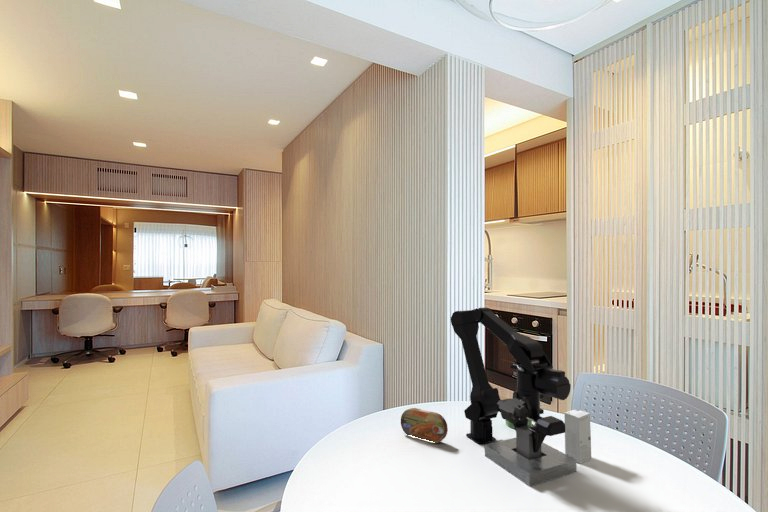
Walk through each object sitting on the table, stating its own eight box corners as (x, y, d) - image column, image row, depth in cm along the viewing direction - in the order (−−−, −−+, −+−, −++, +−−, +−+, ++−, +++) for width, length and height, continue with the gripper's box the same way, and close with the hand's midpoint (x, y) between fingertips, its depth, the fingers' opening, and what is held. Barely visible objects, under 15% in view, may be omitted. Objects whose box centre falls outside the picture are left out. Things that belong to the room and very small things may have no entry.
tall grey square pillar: (516, 453, 100) (516, 427, 100) (528, 450, 102) (528, 424, 102) (529, 461, 96) (528, 434, 96) (541, 458, 98) (541, 431, 98)
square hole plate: (484, 455, 103) (484, 444, 103) (528, 445, 109) (528, 434, 109) (529, 486, 88) (529, 473, 88) (576, 472, 95) (576, 460, 95)
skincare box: (580, 464, 99) (579, 417, 99) (563, 457, 102) (563, 412, 103) (592, 458, 102) (591, 413, 102) (576, 451, 106) (575, 408, 106)
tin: (399, 434, 116) (400, 406, 116) (405, 430, 118) (405, 403, 119) (444, 447, 107) (444, 417, 108) (448, 443, 110) (449, 414, 110)
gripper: (481, 382, 105) (481, 439, 104) (533, 404, 88) (533, 472, 87) (511, 378, 109) (511, 432, 109) (566, 398, 92) (567, 462, 92)
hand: (528, 448), depth 99 cm, fingers closed on tall grey square pillar, 4 cm apart
